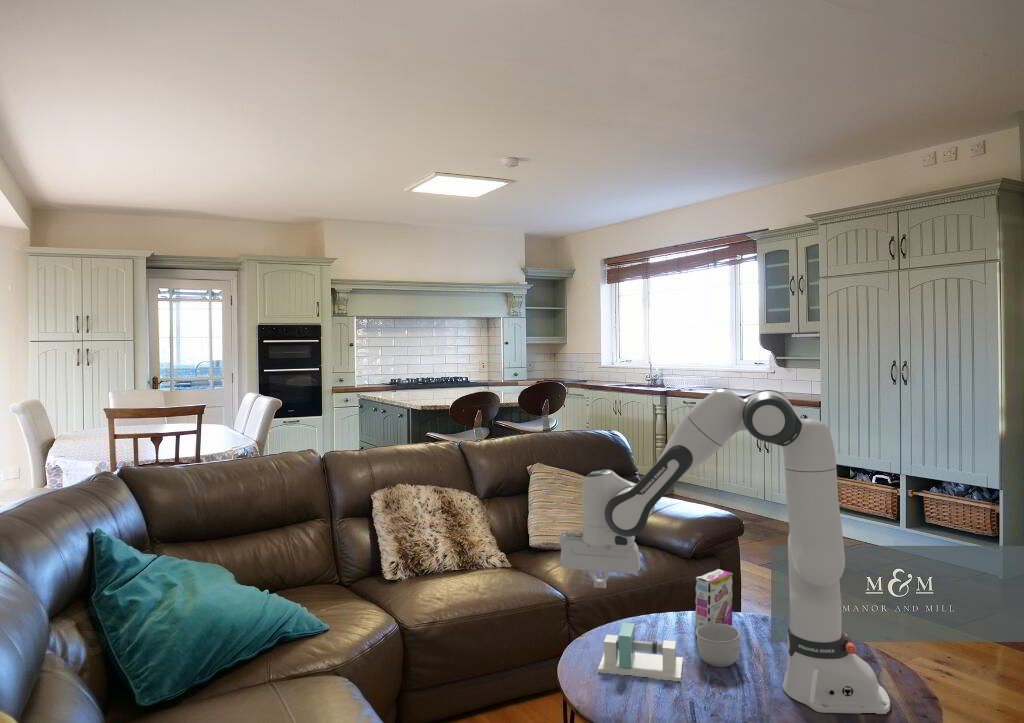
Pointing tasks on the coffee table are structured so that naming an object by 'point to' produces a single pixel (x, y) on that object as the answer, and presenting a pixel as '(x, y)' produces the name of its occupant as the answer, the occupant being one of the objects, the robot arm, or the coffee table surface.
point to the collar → (626, 645)
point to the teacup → (718, 644)
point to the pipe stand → (643, 659)
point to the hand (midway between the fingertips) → (600, 587)
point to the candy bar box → (714, 598)
